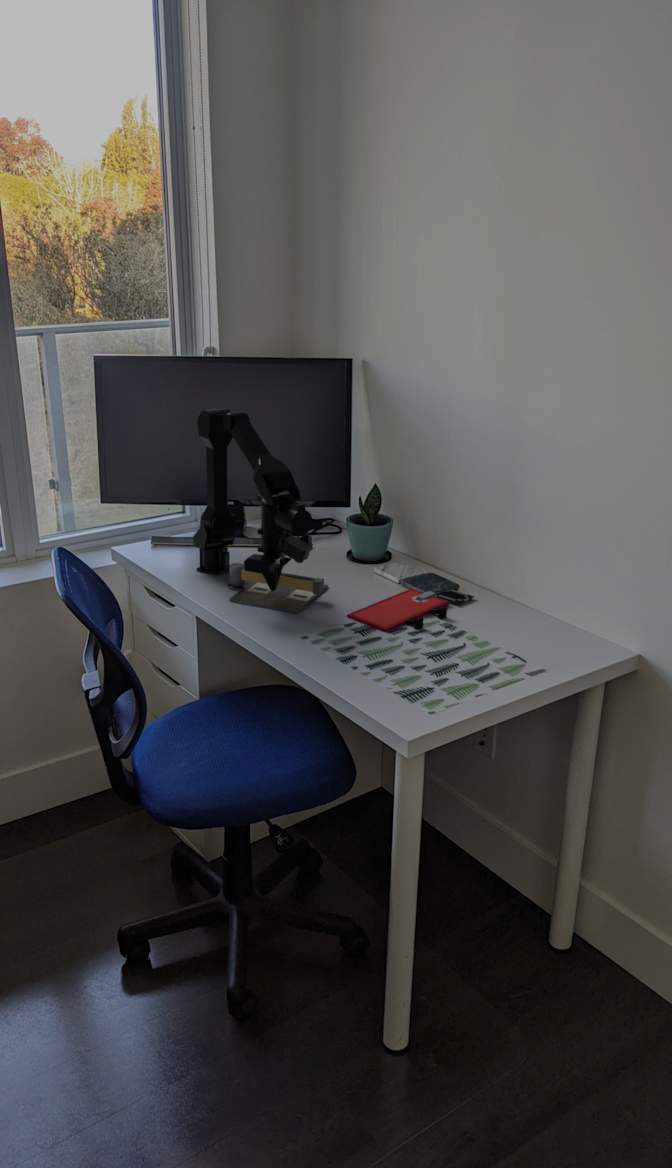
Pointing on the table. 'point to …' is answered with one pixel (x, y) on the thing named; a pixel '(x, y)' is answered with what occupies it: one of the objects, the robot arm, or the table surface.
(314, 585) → the swing arm
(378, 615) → the red board with handle
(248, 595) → the panel
